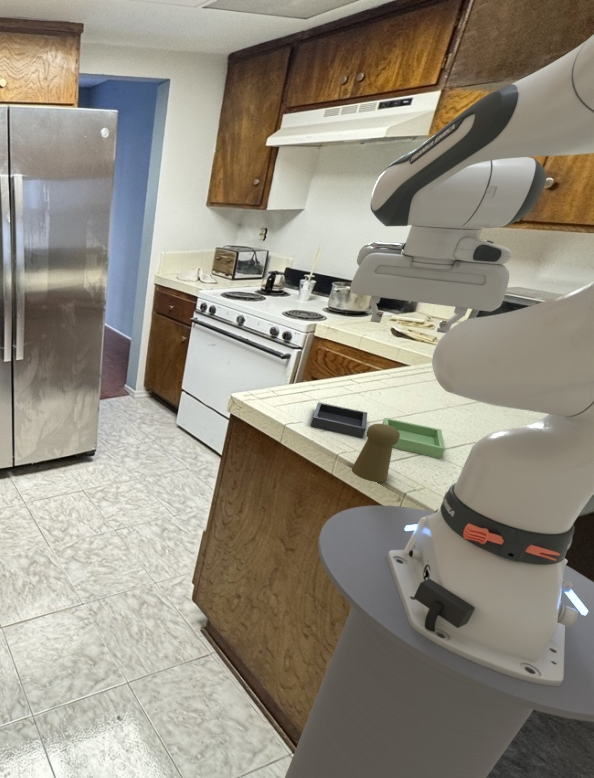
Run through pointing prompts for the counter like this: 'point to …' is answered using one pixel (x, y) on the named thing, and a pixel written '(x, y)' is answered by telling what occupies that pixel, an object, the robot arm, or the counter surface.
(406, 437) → the green tray
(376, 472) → the olive brown pawn
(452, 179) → the robot arm
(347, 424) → the dark tray
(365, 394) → the counter surface
